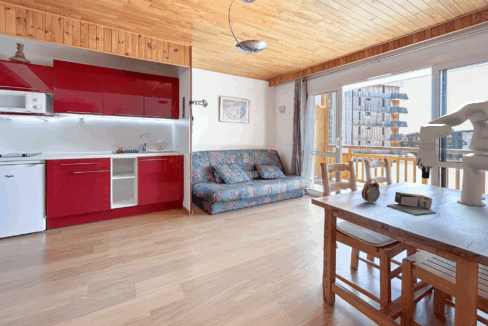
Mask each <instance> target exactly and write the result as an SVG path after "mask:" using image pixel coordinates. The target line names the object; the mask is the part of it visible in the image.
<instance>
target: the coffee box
mask: <svg viewBox="0 0 488 326" xmlns="http://www.w3.org/2000/svg"><path fill="white" fill-rule="evenodd" d="M394 196H395V197H394V203H396V204H401V205H408V206H415V207H420V208H423V209H428V210H429V209H430V210H431V209H432V204H433V200H434V199H433V198H432V197H429V196H427V195H425V194H424V195H422V194H416V193H415V194H414V193H408V192H407V193H406V192H400V191H399V192H398V191H396V192H395V194H394Z"/></svg>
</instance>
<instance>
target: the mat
mask: <svg viewBox="0 0 488 326" xmlns="http://www.w3.org/2000/svg"><path fill="white" fill-rule="evenodd" d="M386 207H389V208H392V209H394V210H397V211H401V212H404V213H407V214H409V215H413V216H423V215H424V216H425V215H433V214H436V211H433V210H431V209H430V210H429V209H428V208H422V207H415V206H408V205H401V204H399V203H394V204H387V205H386Z"/></svg>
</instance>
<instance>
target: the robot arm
mask: <svg viewBox="0 0 488 326" xmlns="http://www.w3.org/2000/svg"><path fill="white" fill-rule="evenodd" d="M468 120H469V122H470V123H471V125H472V127H473V131H472V136H471V139H470V144H469V149H470V150H471V151H472V152H477V153H468V154H466V155H464V156H463V157H462V163H461V164H462V170H463V171H462V183H461V191H460V198H458V199H456V202H457V203H459V204H461V205H468V206H475V207H483V206H486V203H485V202H483V201H486V199H487V198H486V197H485V196H483V193H484V183H485V175H484V172H482V171H488V154H487V153H488V100H486V99H485V100H484V99H483V100H476V101H468V102H465V103H463V104H461V105H460V106H459V107H457V108H455V109H454V110H453V111H451V112H450V113H447V114H445V115H443V116H440V117H437V118H434V119H432V120H430V121H428V122H427V123H426V124H425V125H424V124H423V125H421V126H420V129H419V142H418V143H419V144H418V145H419V146H418V149H417V152H416V157H415V166H418V167H417V168H418V169H420V171H421V178H422V179H427V180H428V179H430V176H431V175H430V173H431V170H432V169H434V168H435V166H436V165H437V151H436V149H437V147H436V146H437V139H438V138H447V137H449V136H451V134H452V133H453V128H452V127H457V126H460V125H462V124H464V123H465V122H466V121H468ZM484 153H486V154H484Z"/></svg>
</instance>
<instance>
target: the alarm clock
mask: <svg viewBox="0 0 488 326" xmlns="http://www.w3.org/2000/svg"><path fill="white" fill-rule="evenodd" d="M370 181H374V182H373V183H369V182H370ZM379 188H380V184H379V183H378V181H376V179H375V180H374V179H369V180H367V182H365V183H364V184H363V189H362V190H361V197H362V199H363V200H364V203H366V202H367V203H369V202H370V203H377V201H378V199H380V194H381V191H380V189H379Z"/></svg>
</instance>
